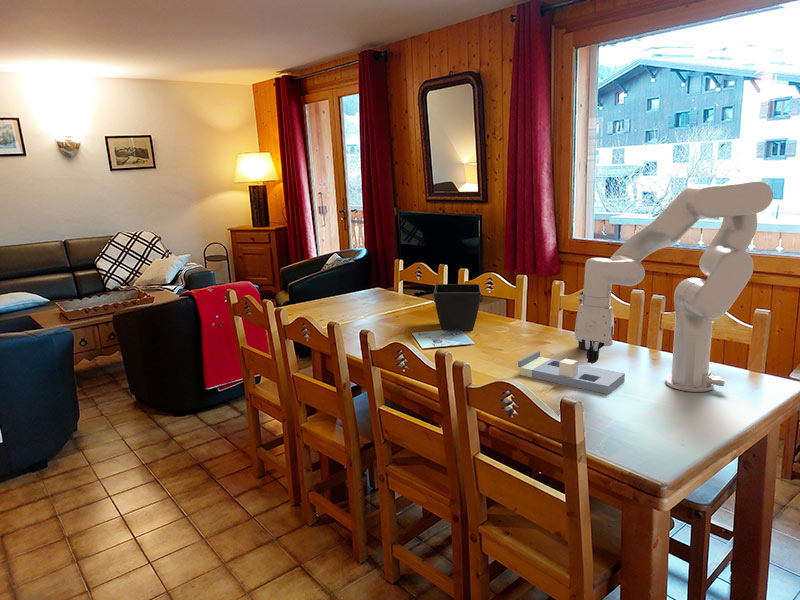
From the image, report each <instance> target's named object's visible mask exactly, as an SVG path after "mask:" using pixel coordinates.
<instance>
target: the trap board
mask: <svg viewBox="0 0 800 600" xmlns="http://www.w3.org/2000/svg"><path fill="white" fill-rule="evenodd" d="M560 361H561V360H558V359H553V358H549V357H543V356H541V351H540V350H536V351H534V352H533V353H531V354H528V355H527V356H525V357H523V358H521V359H519V360H517V364H518V365H517V367H518V368H520V372H519V373H520V376H524V377H528V378H531V379H538V380H541V381H546V382H549V383H550V382H552V383H554V384H559V385H563V386H569V387H574V388H578V389H581V390H586V391H590V392H595V393H596V392H597V393H600V394H604V395H609V394H610V393H612V391H613V392H614V390H616V389H617V387H619V386H621V384H623V383H625V381H626V380H625V378H626V373H624V372H619V371H614V370H610V369H605V368H604V369H603V368H601V367H600V368H599V367H595V366H589V365H585V364H584V365H583V364H579V363H578V374H576V375H575V376H573V377H568V376H563V375H559V362H560Z"/></svg>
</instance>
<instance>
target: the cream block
mask: <svg viewBox="0 0 800 600" xmlns="http://www.w3.org/2000/svg"><path fill="white" fill-rule="evenodd" d="M559 361H560V362H559V375H563V376H568V377H573V376H575V375H576V374H578V364H579V361H578V360H574V359H569V358H564V359H562V360H559Z"/></svg>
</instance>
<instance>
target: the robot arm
mask: <svg viewBox="0 0 800 600" xmlns="http://www.w3.org/2000/svg"><path fill="white" fill-rule="evenodd" d="M773 200H774V191H773V189H772V188H771V186H770V185H769V184H768V183H766V181H762V180H755V179H753V180H749V179H734V180H730V181H727V182H725V183H724V184H711V185H710V184H709V185H708V184H694V185H690V186H687V187H686V188H685V189H682V191H681V192H680V193H679V194H678V195H677V196H676V198H674V199H673V200H672V201H671V202H670V203H669V204H668V205H667V206H666V207H665V209H663V211H662V212H661V213H660V214H658V215H657V217H656V218H655V219H653V221H652V222H651V223H649V224H648V225H647V226H645V227H643V228H642V229H640V230H639V231H638V232H636V234H634V235H633V236H631V237H630V238H629V239H627V240H626V241H625V242H624V243H623V244H622V245H621V246H620V247H619V248H618V249H617V250H616V251H615V252H614V253H613V254H612V255H611V256H610V258H605V257H591V258H588V259H587V260H586V261H585V266H584V280H583V281H584V282H583V291H582V292H583V295H580V294H579V295H578V300H579V299H581V300H582V303H583V304H580V305H579V304H578V310H577V314H576V319H575V325H574V336H575V340H576V341H580V342H582V343H583V344H584V345H585V348H586V349H587V351H586V360H587V363H588V364H596V363H597V362H598V361H599V359H600V358H599V356H600V349H601V348H603V347H611V346H613V345H614V344H613V343H614V342H613V338H614V334H615V333H614V331H615V330H614V327H615V320H614V319H615V318H614V317H615V316H614V311H613V306H612V305H611V299H612V288H613V285H619V286H623V287H624V286H626V287H633V286H636V285H639V284H640V283H641V282H642V281H643V280H644V278H645V275H646V272H645V271H646V270H645V268H644V266H643V264H642V263H641V262H642V261H643V260H644V259H645V258H646V257H648V256H649V255H651V254H652V253H654V252H656V251H659V250H662V249H666V248H667V247H671V246H673V245H674V244H677V243H678V242H679V241H680V239H681V238H682V237H684V235H686V233H687V232H688V231H689V230H690V229H691V228H693V226H694V225H695V224H697V223H698V222H699V220H701V219H702V218H704V219H716V218H718V219H719V218H722V223H721V225H720V226H719V229H718V231H717V233H716V235H714V237H713V239H712V240H711V242H710V243H709V244H708V246H707V248H706V249H705V250H704V252H703V253H702V255H701V257H700V258H699V263H698V266H699V270H700V271H701V272H702V273H703V274H704V275H706V276H707V277H706V280H705V279H702V278H699V277H690V278H685V279H683V280H681V281H680V282H679V283H678V285H677V286H676V287H675V289H674V295H673V303H674V304H673V305H674V317H675V318H674V332H673V333H674V335H673V350H672V363H671V374H669V375H668V376H666V377H665V384H666V385H667V386H669V387H670V388H672V389H675V390H678V391H683V392H689V393H704V392H709V391H712V390H713V389H714V387H715V386H718V387H723V388H724V387H725V386H726V385H725V383H726V380H725V379H723V377H720V376H715V375H713V374H712V370H710V369H709V368H710V359H711V358H710V357H711V347H712V337H713V336H712V335H713V320H716V319H719V318H721V317H723V316H724V315H725V314H726V313H727V312H728V311H729V310H730V309H731V307H732V306H733V304H734V303H735V302H736V300H737V299H738V297H739V295H740V294H742V293H741V292H743V290H744V288H745V287H746V286H747V284H748V282H749V281H751V278H752V275H753V272H754V266H755V264H754V259H753V257H752V256H751V255H750V254H749V253H748V252H747V249H748V247H749V246H750V244H751V243H752V241H753V240H754V237H755V234H756V232H757V228H758V215H757V214H758V213H761V212H763V211H765V210H766V209H768V208H769V206H770V205H772V204H771V203H772V202H773ZM593 341H595V343H594V348H593Z"/></svg>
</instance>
